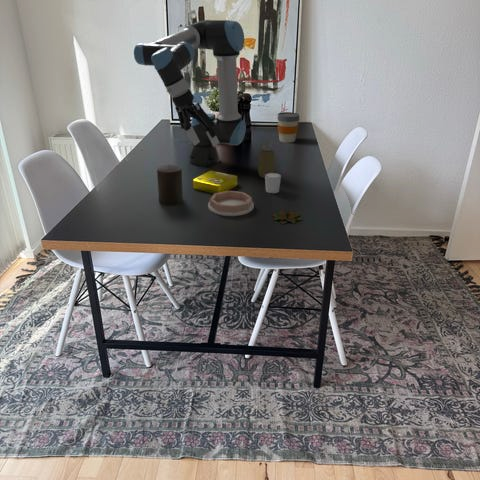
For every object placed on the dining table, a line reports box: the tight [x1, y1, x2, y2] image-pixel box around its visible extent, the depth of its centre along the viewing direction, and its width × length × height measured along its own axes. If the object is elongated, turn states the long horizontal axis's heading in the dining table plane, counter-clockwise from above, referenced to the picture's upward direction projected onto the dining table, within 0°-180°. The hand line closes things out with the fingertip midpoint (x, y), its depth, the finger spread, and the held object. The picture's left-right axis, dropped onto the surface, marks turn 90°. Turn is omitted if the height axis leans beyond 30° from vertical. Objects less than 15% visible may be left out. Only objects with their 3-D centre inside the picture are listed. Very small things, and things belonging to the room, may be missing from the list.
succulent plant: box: [271, 206, 303, 225], centre depth 170 cm, size 12×12×5 cm
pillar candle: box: [156, 164, 184, 206], centre depth 181 cm, size 10×10×15 cm
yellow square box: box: [192, 170, 238, 195], centre depth 199 cm, size 15×15×5 cm
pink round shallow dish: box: [207, 190, 255, 217], centre depth 179 cm, size 18×18×4 cm
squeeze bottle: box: [257, 137, 276, 179], centre depth 207 cm, size 8×8×18 cm
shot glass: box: [264, 172, 282, 194], centre depth 194 cm, size 7×7×7 cm
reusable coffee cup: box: [277, 111, 300, 144], centre depth 263 cm, size 12×13×15 cm
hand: (206, 144), depth 175 cm, fingers open, 13 cm apart
